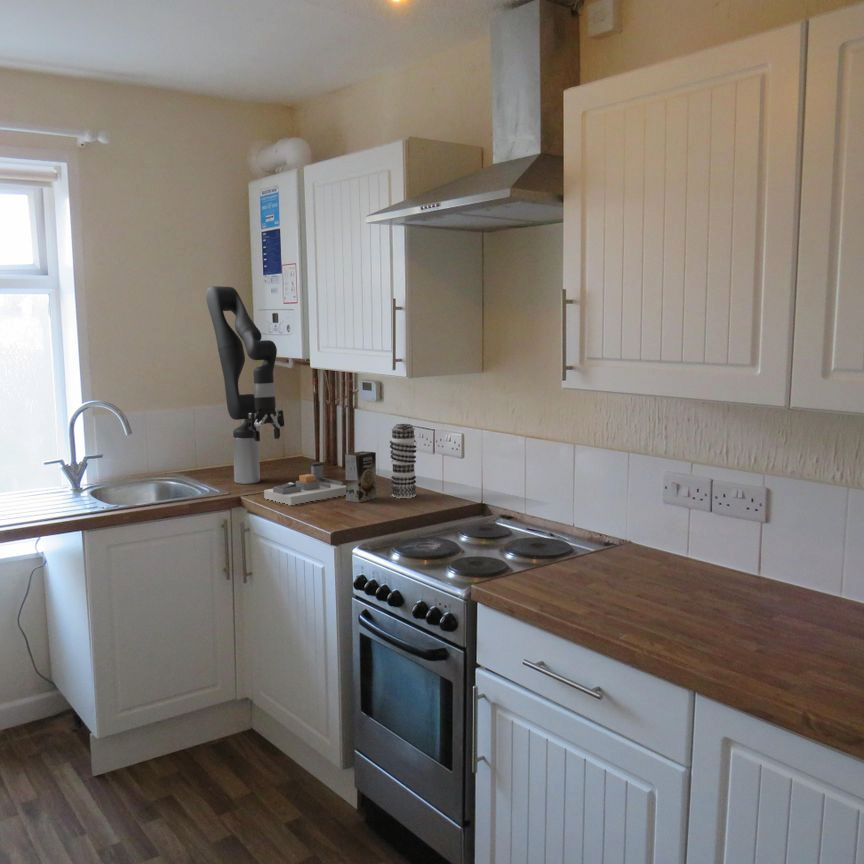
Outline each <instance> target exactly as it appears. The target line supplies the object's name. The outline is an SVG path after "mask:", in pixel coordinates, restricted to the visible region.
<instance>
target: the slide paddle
mask: <svg viewBox="0 0 864 864" xmlns="http://www.w3.org/2000/svg"><path fill="white" fill-rule="evenodd" d="M324 463H325V462H320V461H319V462H312V463H309V467H310V471H311V472H310V474H311V475H316V480H317V481H319V482H323V478H324Z"/></svg>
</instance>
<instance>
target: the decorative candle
mask: <svg viewBox="0 0 864 864" xmlns="http://www.w3.org/2000/svg"><path fill="white" fill-rule="evenodd" d="M391 436H392V437H391V440H389V444H390V445H389V448H391V450H390V452H389V453H390V459H391V462H390V463H391V464H392V471H391V472H392V473H391V474H392V475H391V477H390V479H392V480H391V484H392V485H391V486H390V487H391V494H392V495H391V497H392V496H393V497H396V498H395V499H400V498H407V499H413V498H412V497H414V498H415V496H417V495H416V494H417V490H416V488H417V486H416V485H415V484H416V482H417V481H416V478H417V477H416V471H415V464H416V462H417V460H416V458H417V456H416V455H415V453H417V450H416V448H417V445H416V444H414V443H416V439H415V428H414V427H413V425H412V424H409V423H398V424H395V425H394V427H392V428H391ZM393 497H392V498H393Z"/></svg>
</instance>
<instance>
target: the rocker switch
mask: <svg viewBox="0 0 864 864" xmlns="http://www.w3.org/2000/svg"><path fill="white" fill-rule="evenodd" d="M277 486H278V488H282V489H285V488H291V487H296V482H287V483H284V484H281V485H277Z"/></svg>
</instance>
